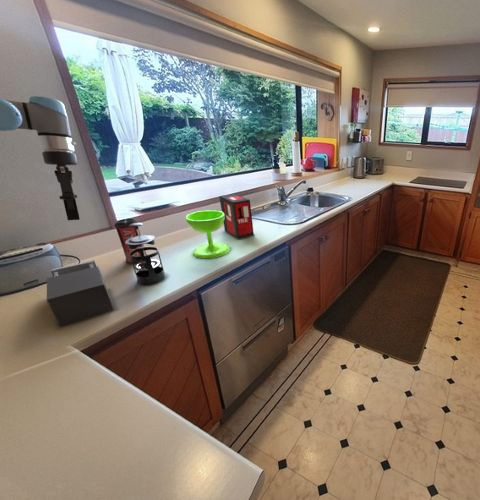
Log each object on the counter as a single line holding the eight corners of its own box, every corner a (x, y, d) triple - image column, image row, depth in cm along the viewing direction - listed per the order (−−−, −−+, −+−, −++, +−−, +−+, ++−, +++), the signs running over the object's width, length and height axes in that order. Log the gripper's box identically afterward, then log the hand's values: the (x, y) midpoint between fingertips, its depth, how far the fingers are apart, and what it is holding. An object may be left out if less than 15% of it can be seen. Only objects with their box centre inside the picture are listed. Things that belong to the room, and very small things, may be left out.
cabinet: (58, 303, 94) (46, 278, 90) (107, 289, 103) (98, 266, 98) (60, 326, 84) (46, 299, 80) (113, 309, 92) (104, 284, 88)
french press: (169, 280, 110) (154, 225, 100) (140, 288, 104) (122, 230, 94) (161, 269, 117) (147, 217, 108) (134, 276, 111) (116, 221, 102)
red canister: (147, 254, 129) (136, 217, 122) (147, 260, 124) (136, 222, 116) (127, 257, 125) (114, 219, 118) (126, 264, 120) (112, 225, 112)
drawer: (59, 287, 101) (50, 268, 98) (100, 277, 108) (93, 258, 105) (60, 307, 91) (50, 286, 88) (106, 294, 98) (98, 274, 95)
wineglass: (236, 246, 141) (231, 211, 134) (217, 260, 127) (210, 222, 119) (207, 242, 143) (201, 209, 136) (185, 256, 129) (177, 219, 122)
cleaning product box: (224, 230, 160) (219, 196, 151) (239, 227, 166) (235, 193, 157) (238, 239, 150) (233, 202, 141) (253, 235, 156) (249, 199, 147)
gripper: (75, 148, 83) (90, 220, 88) (75, 155, 100) (87, 215, 105) (37, 146, 78) (56, 222, 82) (44, 154, 95) (59, 216, 100)
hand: (73, 218), depth 94 cm, fingers open, 13 cm apart
